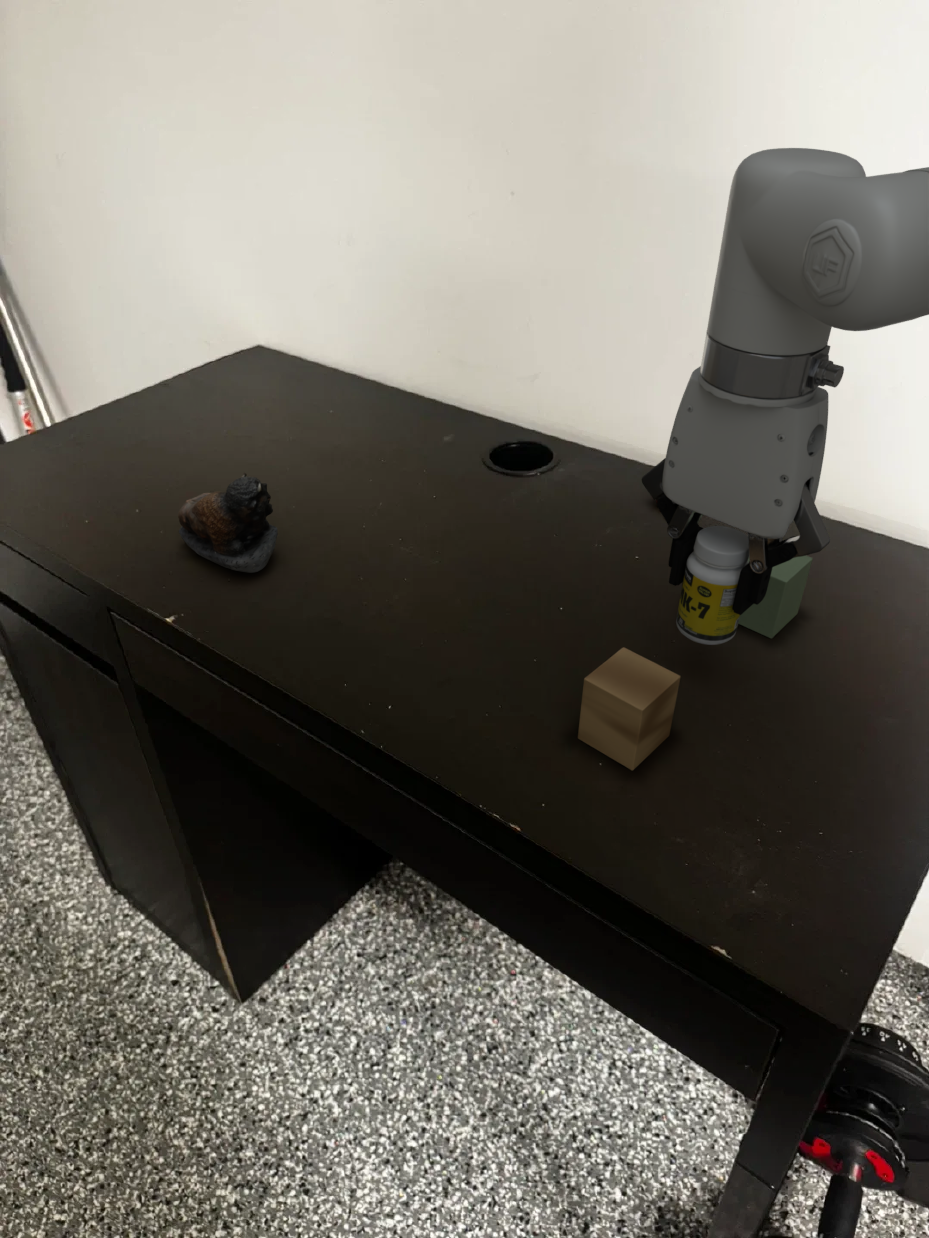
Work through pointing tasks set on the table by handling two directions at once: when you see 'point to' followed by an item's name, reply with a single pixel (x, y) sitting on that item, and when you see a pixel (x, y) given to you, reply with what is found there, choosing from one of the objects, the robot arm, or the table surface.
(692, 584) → the supplement bottle
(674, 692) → the oak block
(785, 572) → the sage block
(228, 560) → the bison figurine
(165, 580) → the table surface
